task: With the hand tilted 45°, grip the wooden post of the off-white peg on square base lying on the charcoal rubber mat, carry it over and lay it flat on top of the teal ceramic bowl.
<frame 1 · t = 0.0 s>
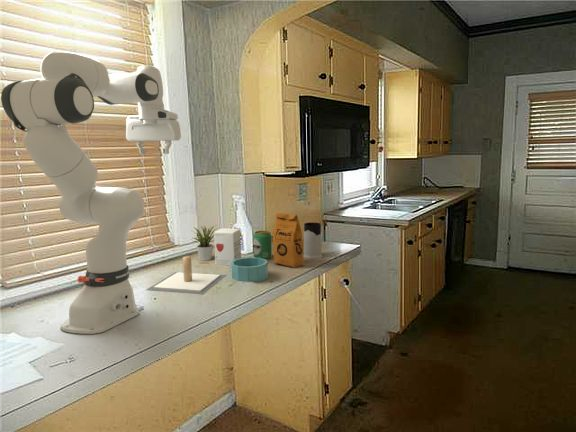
hand: (154, 153, 151), 48 cm above the table, fingers open, 8 cm apart
beverage can: (262, 258, 191), on the table
peg on square base: (188, 282, 156), point 1 cm above the table, touching rubber mat
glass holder: (315, 255, 195), on the table
house plant: (208, 259, 190), on the table
supplement box: (228, 264, 182), on the table
rubber mat: (188, 283, 156), on the table
bowl: (249, 277, 163), on the table
coffee package: (288, 264, 180), on the table
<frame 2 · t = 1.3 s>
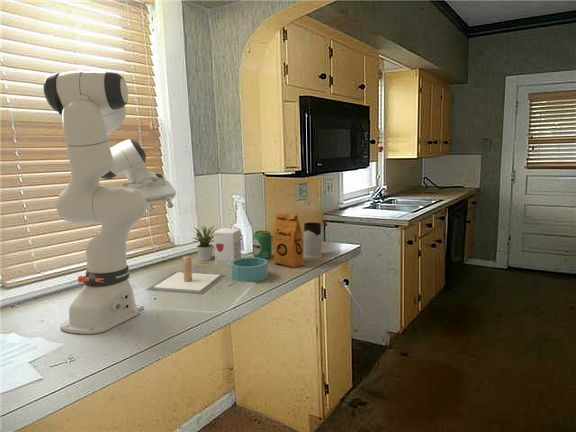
hand: (161, 208, 158), 27 cm above the table, fingers open, 8 cm apart
nothing on the table moved.
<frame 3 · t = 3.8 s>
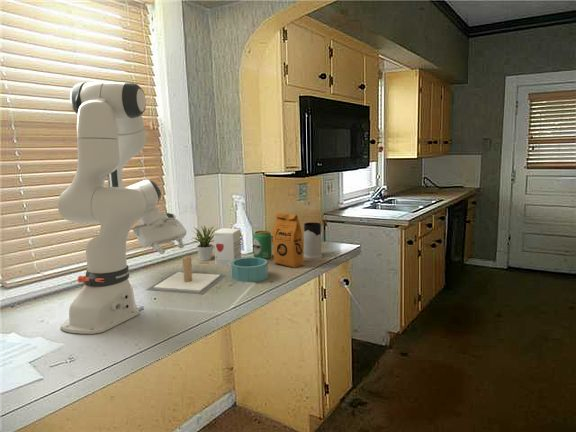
hand: (172, 250, 158), 12 cm above the table, fingers open, 8 cm apart
nothing on the table moved.
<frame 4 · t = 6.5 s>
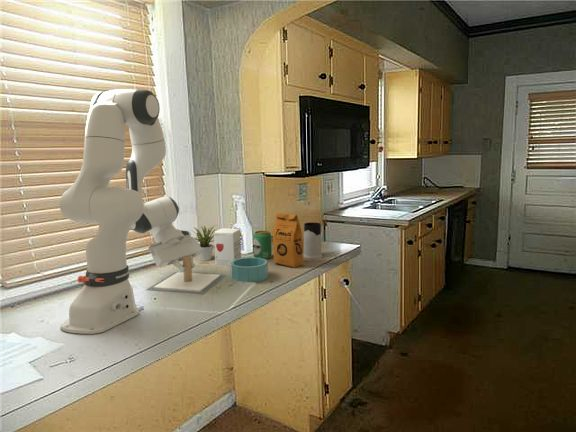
hand: (188, 269, 155), 6 cm above the table, fingers closed on peg on square base, 3 cm apart
peg on square base: (188, 282, 156), point 1 cm above the table, touching gripper, rubber mat
everything else where it was.
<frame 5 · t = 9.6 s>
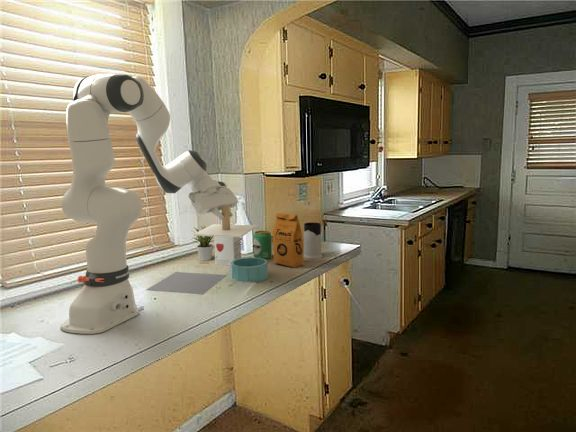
hand: (227, 217, 157), 24 cm above the table, fingers closed on peg on square base, 3 cm apart
peg on square base: (226, 231, 158), point 19 cm above the table, touching gripper
everything else where it was.
when the fingers open (13 cm above the table, at t = 12.7 s): peg on square base drops 1 cm, resting on bowl.
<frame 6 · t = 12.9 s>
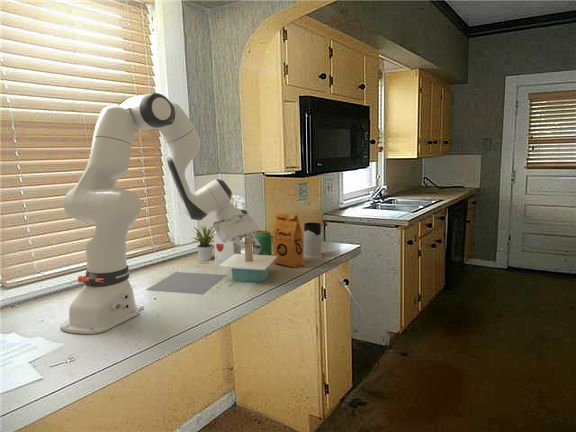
hand: (249, 245, 161), 13 cm above the table, fingers open, 5 cm apart
peg on square base: (248, 262, 162), point 6 cm above the table, touching bowl
everything else where it was.
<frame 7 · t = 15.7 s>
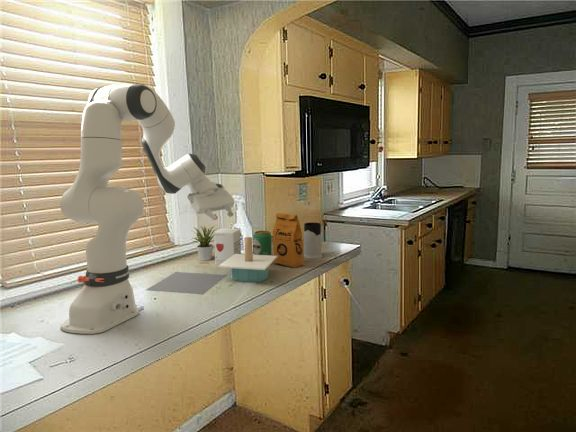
hand: (223, 217, 166), 23 cm above the table, fingers open, 8 cm apart
nothing on the table moved.
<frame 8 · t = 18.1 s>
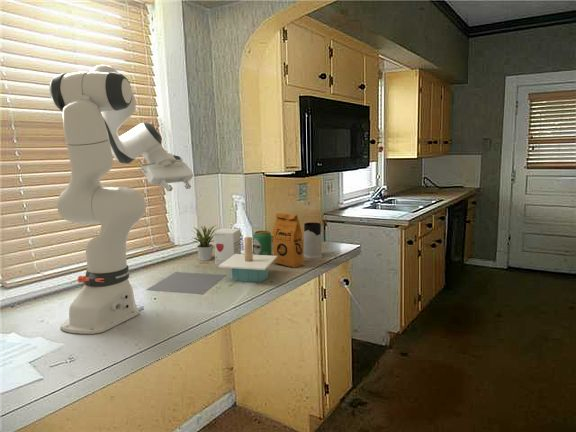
hand: (180, 189, 161), 34 cm above the table, fingers open, 8 cm apart
nothing on the table moved.
at the end: peg on square base inside the target area on the bowl (0.1 cm from its centre), point 6.0 cm above the bowl's base; peg on square base tilted 0°; peg on square base touching bowl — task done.
